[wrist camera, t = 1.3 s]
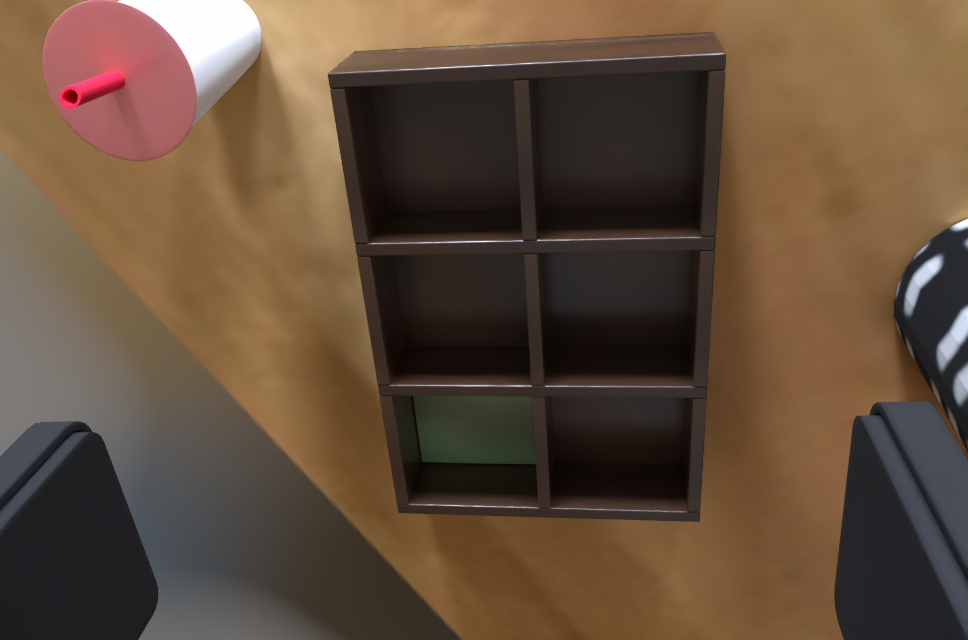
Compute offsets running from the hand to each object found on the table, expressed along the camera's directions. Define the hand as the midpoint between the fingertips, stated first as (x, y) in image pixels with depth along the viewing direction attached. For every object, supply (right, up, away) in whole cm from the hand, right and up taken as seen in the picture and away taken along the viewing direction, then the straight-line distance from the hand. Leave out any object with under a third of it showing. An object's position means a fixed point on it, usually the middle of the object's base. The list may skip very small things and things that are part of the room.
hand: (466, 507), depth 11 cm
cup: (-11, +15, +26) cm, 32 cm away
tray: (+3, +4, +30) cm, 30 cm away
